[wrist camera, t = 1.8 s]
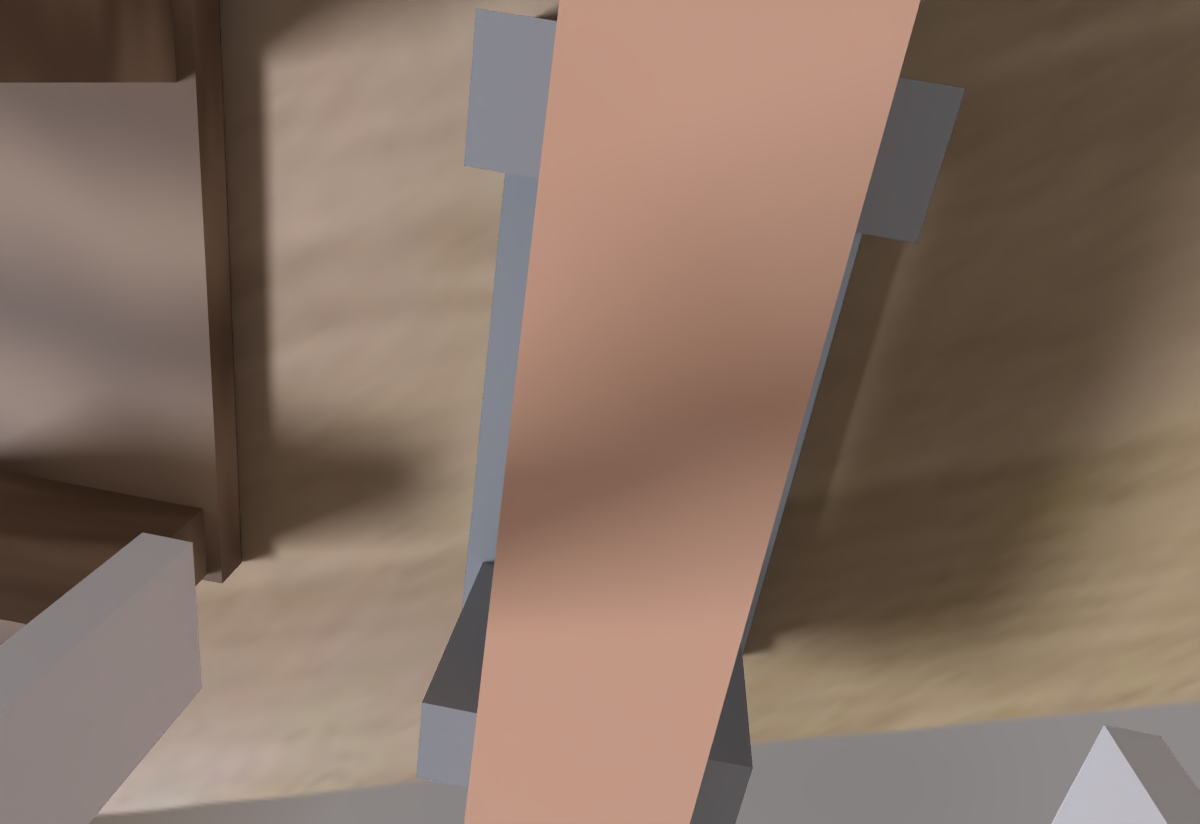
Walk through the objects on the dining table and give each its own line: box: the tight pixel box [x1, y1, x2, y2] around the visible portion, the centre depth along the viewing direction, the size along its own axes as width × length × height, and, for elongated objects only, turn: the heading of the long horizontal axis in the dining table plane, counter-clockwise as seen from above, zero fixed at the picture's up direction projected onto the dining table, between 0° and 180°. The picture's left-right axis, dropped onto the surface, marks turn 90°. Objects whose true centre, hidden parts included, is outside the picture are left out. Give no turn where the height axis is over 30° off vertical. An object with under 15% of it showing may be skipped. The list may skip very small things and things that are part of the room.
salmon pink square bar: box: [464, 0, 920, 824], centre depth 14 cm, size 22×4×4 cm, turn 171°
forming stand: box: [416, 8, 966, 824], centre depth 19 cm, size 18×9×7 cm, turn 171°
